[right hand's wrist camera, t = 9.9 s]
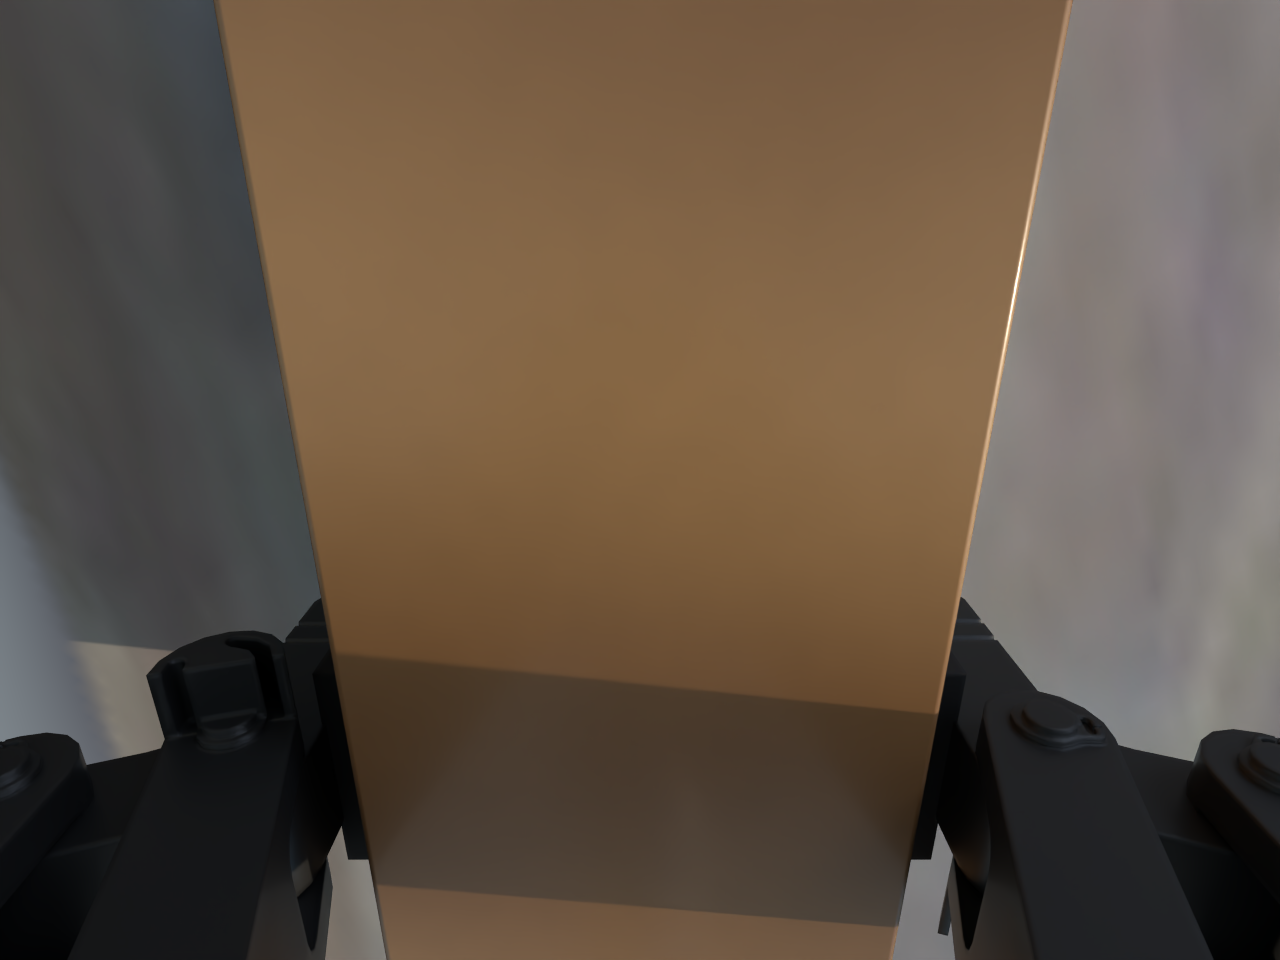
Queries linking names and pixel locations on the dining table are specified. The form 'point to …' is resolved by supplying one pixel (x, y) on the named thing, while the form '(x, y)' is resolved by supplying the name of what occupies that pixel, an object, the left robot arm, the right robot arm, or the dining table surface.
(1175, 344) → the dining table surface
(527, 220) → the post
